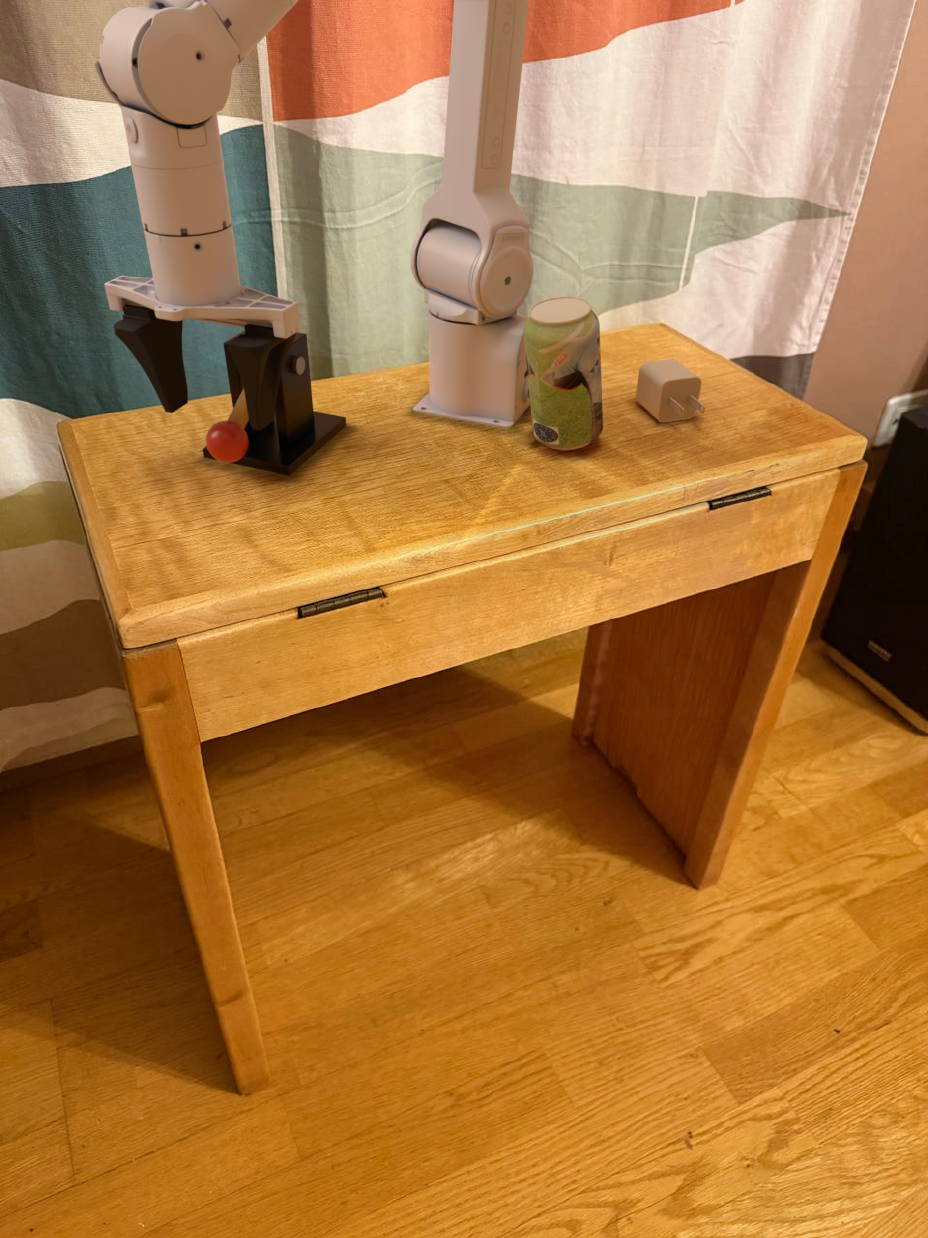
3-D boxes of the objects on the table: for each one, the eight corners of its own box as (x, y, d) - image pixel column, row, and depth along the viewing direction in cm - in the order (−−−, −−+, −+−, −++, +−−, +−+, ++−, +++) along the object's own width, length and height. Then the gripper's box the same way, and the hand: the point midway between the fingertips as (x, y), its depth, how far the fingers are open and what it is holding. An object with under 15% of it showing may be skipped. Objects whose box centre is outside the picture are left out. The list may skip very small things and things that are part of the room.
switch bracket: (289, 480, 73) (277, 368, 67) (204, 461, 75) (185, 352, 70) (347, 429, 80) (339, 324, 75) (267, 414, 83) (255, 311, 77)
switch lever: (244, 474, 71) (228, 450, 68) (209, 466, 72) (192, 443, 69) (298, 362, 75) (285, 335, 72) (264, 356, 76) (250, 329, 73)
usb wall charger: (672, 399, 87) (679, 358, 84) (710, 429, 82) (718, 387, 79) (634, 404, 86) (640, 362, 83) (669, 435, 80) (677, 392, 78)
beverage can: (615, 446, 79) (633, 306, 71) (547, 467, 75) (558, 322, 68) (570, 419, 83) (582, 284, 76) (503, 437, 80) (510, 299, 72)
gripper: (57, 227, 60) (105, 420, 68) (250, 253, 55) (276, 455, 64) (126, 203, 65) (163, 385, 73) (307, 225, 61) (324, 415, 69)
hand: (219, 415), depth 69 cm, fingers open, 7 cm apart
